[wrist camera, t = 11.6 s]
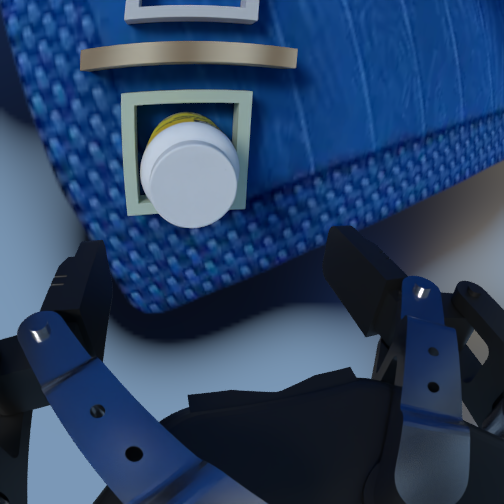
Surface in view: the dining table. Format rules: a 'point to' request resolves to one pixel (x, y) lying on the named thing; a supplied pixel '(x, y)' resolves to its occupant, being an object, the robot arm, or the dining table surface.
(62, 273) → the robot arm
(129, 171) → the keeper
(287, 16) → the dining table surface
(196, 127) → the pill bottle
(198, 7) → the keeper
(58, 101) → the dining table surface
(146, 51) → the edge strip
